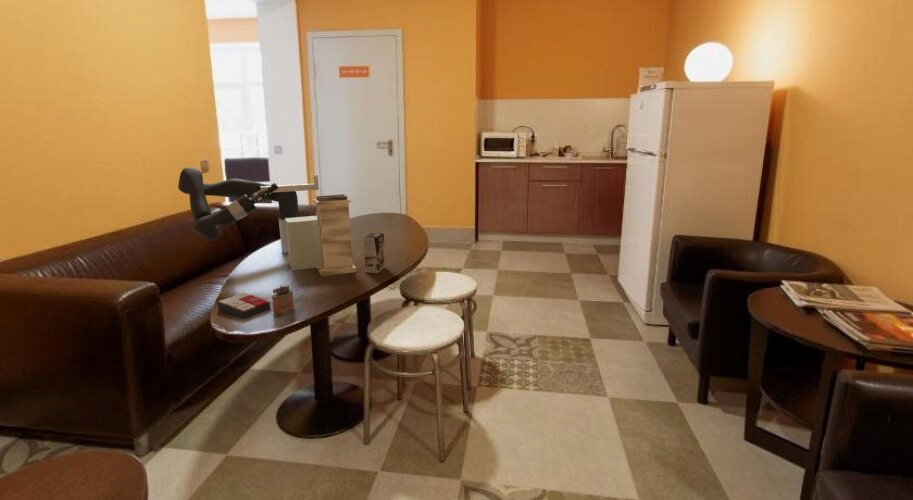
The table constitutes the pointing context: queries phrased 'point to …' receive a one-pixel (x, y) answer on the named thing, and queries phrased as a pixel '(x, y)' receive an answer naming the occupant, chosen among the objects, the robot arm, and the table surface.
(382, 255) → the coffee box
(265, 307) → the red and beige box
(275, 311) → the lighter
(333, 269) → the tall stand
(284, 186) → the hook bar
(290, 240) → the upright cream box
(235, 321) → the table surface
